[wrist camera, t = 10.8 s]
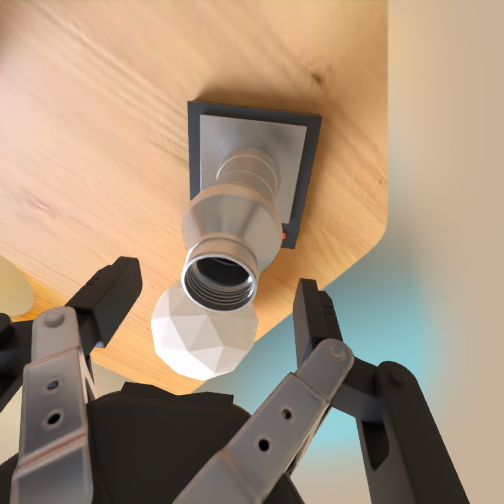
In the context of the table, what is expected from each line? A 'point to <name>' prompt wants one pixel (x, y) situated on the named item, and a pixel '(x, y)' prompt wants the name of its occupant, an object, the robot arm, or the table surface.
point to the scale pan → (257, 136)
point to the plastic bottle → (232, 232)
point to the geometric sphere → (200, 335)
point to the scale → (264, 115)
